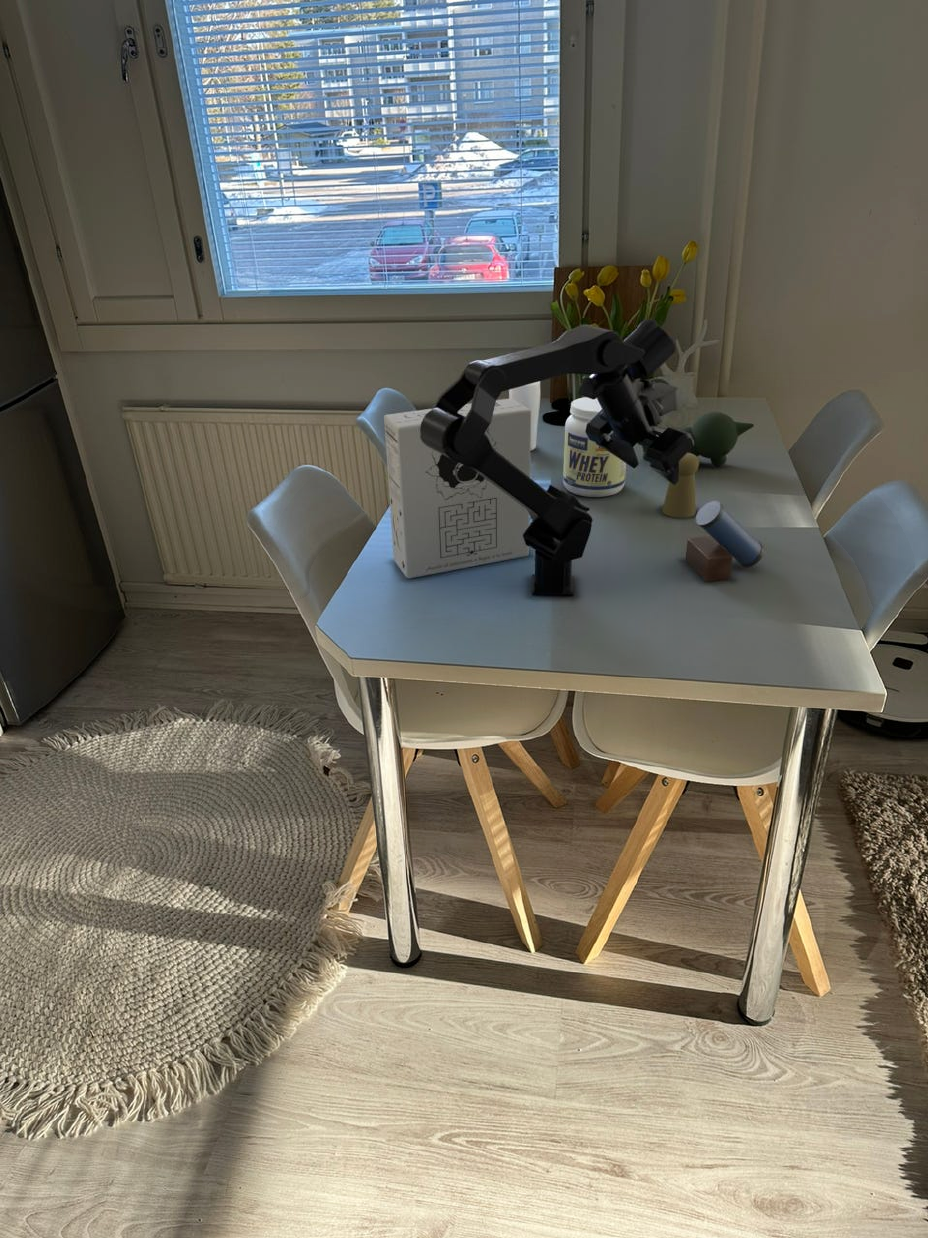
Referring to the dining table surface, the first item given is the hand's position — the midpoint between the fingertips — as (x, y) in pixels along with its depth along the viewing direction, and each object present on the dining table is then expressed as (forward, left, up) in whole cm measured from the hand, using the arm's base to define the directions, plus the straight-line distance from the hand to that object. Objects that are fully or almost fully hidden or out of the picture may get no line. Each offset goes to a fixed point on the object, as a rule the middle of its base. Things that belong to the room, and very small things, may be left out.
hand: (655, 474), depth 139 cm
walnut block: (-5, -9, -14) cm, 18 cm away
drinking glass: (+56, +21, -15) cm, 61 cm away
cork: (+20, -8, -15) cm, 26 cm away
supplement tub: (+32, +7, -15) cm, 35 cm away
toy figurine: (+46, -13, -15) cm, 50 cm away
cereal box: (-1, +31, -15) cm, 34 cm away
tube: (-4, -12, -9) cm, 15 cm away
